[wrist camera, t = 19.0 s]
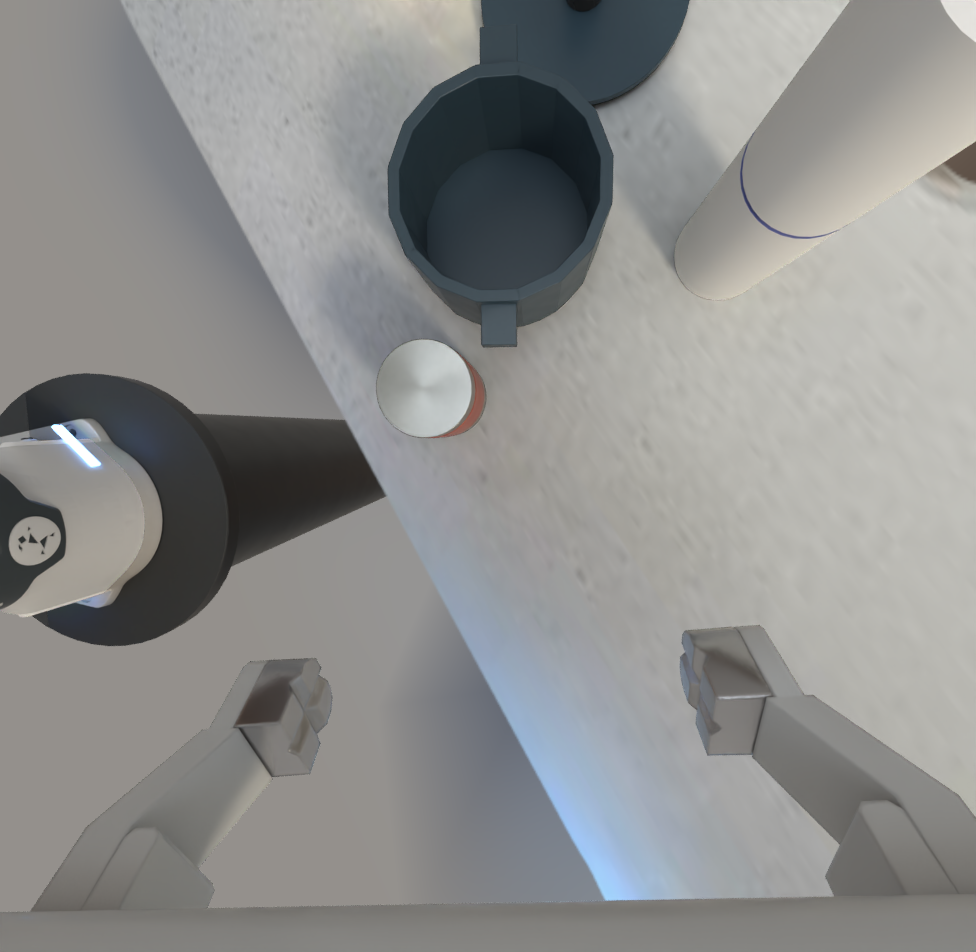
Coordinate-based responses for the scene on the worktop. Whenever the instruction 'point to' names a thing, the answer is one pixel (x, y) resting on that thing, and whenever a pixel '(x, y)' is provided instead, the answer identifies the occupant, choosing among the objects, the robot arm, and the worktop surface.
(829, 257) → the worktop surface
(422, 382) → the can
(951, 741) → the worktop surface
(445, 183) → the pot
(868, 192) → the cylindrical container
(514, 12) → the pot lid
